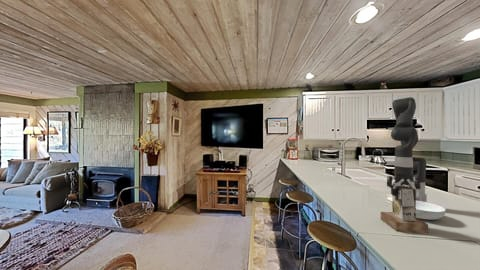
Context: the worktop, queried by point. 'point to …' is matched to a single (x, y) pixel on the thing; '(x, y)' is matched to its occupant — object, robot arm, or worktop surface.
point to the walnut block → (404, 224)
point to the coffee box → (404, 203)
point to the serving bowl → (429, 211)
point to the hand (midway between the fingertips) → (403, 196)
